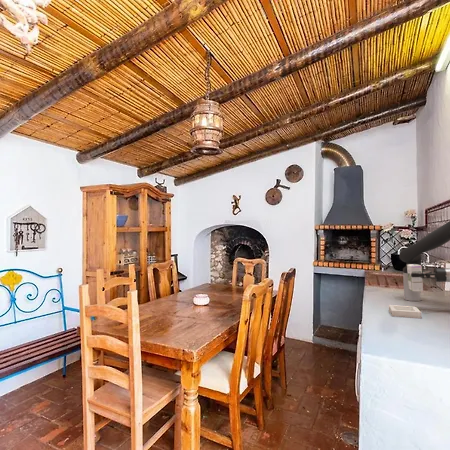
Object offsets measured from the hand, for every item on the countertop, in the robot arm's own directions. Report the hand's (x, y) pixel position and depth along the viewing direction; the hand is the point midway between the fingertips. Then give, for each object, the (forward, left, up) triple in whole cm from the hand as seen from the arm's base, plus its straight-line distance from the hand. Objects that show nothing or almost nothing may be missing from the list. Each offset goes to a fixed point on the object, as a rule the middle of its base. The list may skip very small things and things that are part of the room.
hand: (410, 274), depth 170 cm
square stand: (+13, -6, -20) cm, 24 cm away
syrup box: (0, +2, -9) cm, 9 cm away
